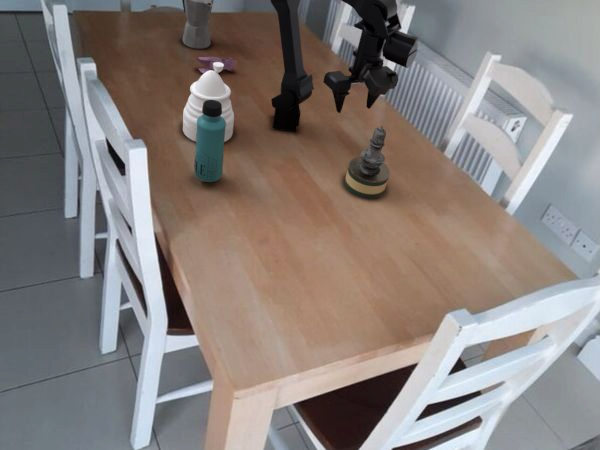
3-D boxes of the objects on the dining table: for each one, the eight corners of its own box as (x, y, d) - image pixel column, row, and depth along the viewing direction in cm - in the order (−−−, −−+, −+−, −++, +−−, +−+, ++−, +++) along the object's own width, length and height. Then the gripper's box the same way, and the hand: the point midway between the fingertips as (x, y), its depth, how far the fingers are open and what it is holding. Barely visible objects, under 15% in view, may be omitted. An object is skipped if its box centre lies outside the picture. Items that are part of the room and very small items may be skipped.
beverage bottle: (226, 176, 132) (233, 101, 119) (214, 191, 127) (220, 114, 114) (201, 167, 133) (206, 92, 120) (188, 182, 128) (191, 104, 115)
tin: (345, 196, 134) (350, 178, 130) (342, 171, 141) (347, 154, 138) (387, 200, 135) (393, 183, 132) (381, 176, 143) (387, 159, 139)
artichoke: (200, 56, 164) (238, 57, 170) (196, 53, 167) (233, 54, 173) (199, 74, 167) (237, 74, 172) (195, 70, 170) (232, 70, 175)
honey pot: (211, 112, 152) (216, 50, 141) (242, 135, 146) (249, 71, 135) (172, 125, 144) (173, 60, 133) (203, 149, 138) (207, 83, 127)
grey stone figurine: (370, 178, 132) (383, 135, 124) (352, 165, 135) (364, 122, 127) (386, 171, 135) (399, 128, 127) (368, 158, 138) (381, 116, 130)
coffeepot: (220, 48, 183) (224, -7, 172) (196, 53, 178) (199, -4, 166) (192, 30, 191) (194, -25, 179) (168, 34, 185) (169, -22, 173)
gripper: (356, 71, 121) (340, 132, 131) (421, 64, 129) (401, 122, 140) (329, 48, 127) (316, 108, 137) (392, 43, 136) (375, 99, 146)
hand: (353, 110), depth 140 cm, fingers open, 9 cm apart
